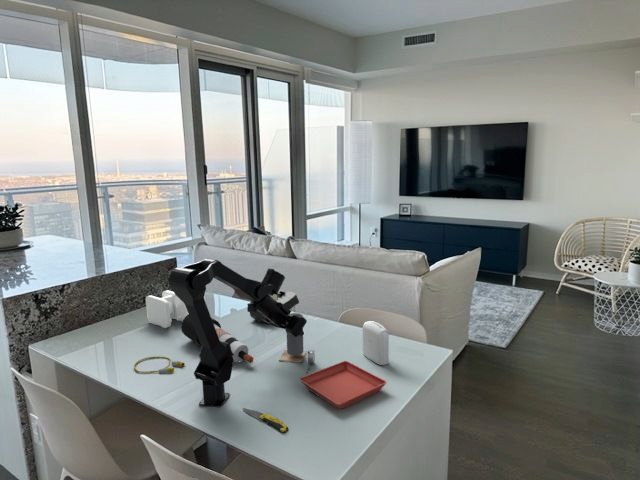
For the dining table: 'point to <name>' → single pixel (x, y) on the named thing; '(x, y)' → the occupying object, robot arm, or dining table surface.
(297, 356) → the tan pad
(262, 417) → the utility knife
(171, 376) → the dining table surface
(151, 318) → the cable organizer
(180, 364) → the extension cord
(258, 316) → the end cap
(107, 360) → the dining table surface
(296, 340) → the octagonal tapered tumbler
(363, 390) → the plant saucer
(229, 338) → the cable
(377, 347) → the photo printer
